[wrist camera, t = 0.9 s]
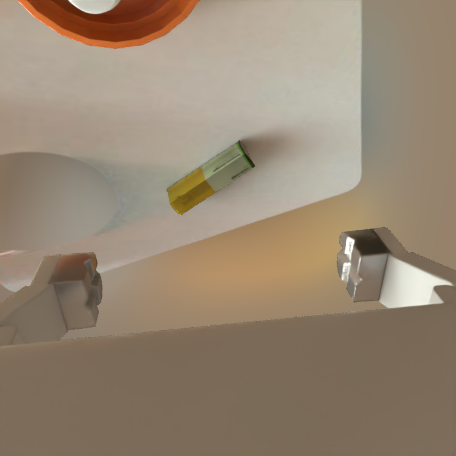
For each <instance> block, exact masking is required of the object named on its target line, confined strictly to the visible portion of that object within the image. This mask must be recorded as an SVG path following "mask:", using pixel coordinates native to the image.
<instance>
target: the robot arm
mask: <svg viewBox="0 0 456 456" xmlns="http://www.w3.org/2000/svg"><path fill="white" fill-rule="evenodd" d="M339 243H340V245H341V247H342V249H341V251H340V252H339V253H338V255H337V268H338V273H339V276H340V278H341V280H342V281H344V282H346V283H347V291H348V293H349V294H350V296H351V298H352V300H353V302H361V301H377V300H379V302H381V303H382V304H383V305H385V306H386V307H388V308H387V309H376V310H365V311H355V312H345V313H334V314H324V315H314V316H304V317H294V318H284V319H273V320H264V321H253V322H243V323H233V324H222V325H211V326H202V327H191V328H181V329H170V330H161V331H150V332H141V333H130V334H120V335H109V336H99V337H88V338H78V339H68V340H60V339H61V338H62V337H63V336H64V335H65V334H66V333H67V332H68V331H67V330H73V329H82V328H90V327H95V326H96V321H97V317H98V307H97V305H99V304H100V303H101V299H102V281H101V276H100V274H99V273H98V272H97V271H96V267H97V259H96V255H95V254H94V252H87V253H72V254H56V255H46V256H44V257H43V259H42V261H41V264H40V266H39V268H38V270H37V272H36V274H35V276H34V278H33V280H32V283H31V285H30V286H25V287H23V288H22V289H20V290H19V291H17V292H16V293H14V294H13V295H11V296H10V297H8V298H7V299H5V300H4V301H2V302H1V303H0V456H456V270H453V269H451V268H449V267H446V266H444V265H442V264H439V263H437V262H435V261H432V260H430V259H427V258H425V257H423V256H420V255H418V254H416V253H413V252H411V253H408V251H406V249H405V248H404V247H403V246H402V244H401V243H400V242H399V241H398V240H397V239H396V237H395V236H394V235H393V234H392V233H391V231H390V230H389V229H388V228H386V227H382V228H374V229H366V230H356V231H347V232H342V233H341V235H340V240H339Z"/></svg>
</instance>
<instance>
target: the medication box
mask: <svg viewBox="0 0 456 456" xmlns="http://www.w3.org/2000/svg"><path fill="white" fill-rule="evenodd" d="M254 167H255V164H254V163H253V161H252V159H251V157H250V155H249V153H248V151H247V149H246V147H245V146H244V145H243V143H242V142H241V141H238V142H237V143H236V144H234V145H233V146H231V147H230V148H228V149H227V150H225V151H224V152H222V153H221V154H219V155H218V156H216V157H215V158H213V159H212V160H210V161H209V162H207V163H206V164H204V165H203V166H201V167H200V168H198V169H197V170H195V171H194V172H192V173H191V174H189V175H188V176H186V177H185V178H183V179H182V180H180V181H179V182H177V183H176V184H174V185H173V186H171V187H170V188H168V189H167V192H168V195H169V201H170V202H169V204H170V205H171V206H172V208H173V209H174V210H175V211H176V212H177V213H178V214H179V215H182V214H184V213H185V212H187V211H188V210H190V209H191V208H193V207H194V206H196V205H197V204H199V203H200V202H202V201H203V200H205V199H206V198H208V197H209V196H211V195H213V194H214V193H216V192H217V191H219V190H220V189H222V188H223V187H225V186H226V185H228V184H229V183H231V182H232V181H234V180H235V179H237V178H238V177H240V176H241V175H243V174H245V173H246V172H248V171H249V170H251V169H252V168H254Z"/></svg>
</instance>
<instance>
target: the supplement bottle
mask: <svg viewBox="0 0 456 456" xmlns="http://www.w3.org/2000/svg"><path fill="white" fill-rule="evenodd" d="M69 1H70V2H71V3H72V4H73V5H74V6H76V7H77V8H79V9H80V10H82V11H84V12H87V13H91V14H99V13H104V12H107V11H109V10H111V9H113V8H114V7H115V6H116V5H117V4H118V3H119V2H120V0H69Z"/></svg>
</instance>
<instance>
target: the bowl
mask: <svg viewBox="0 0 456 456" xmlns="http://www.w3.org/2000/svg"><path fill="white" fill-rule="evenodd" d="M18 1H19V2H20V3H21V4H22V5H23V6H24V7H25V8H26V9H27V10H28V11H29V13H30V14H31V15H32V16H34V17H35V18H37V19H38V20H39V21H41V22H42V23H44V24H45V25H47V26H48V27H50V28H51V29H53V30H54V31H56V32H57V33H59V34H61V35H63V36H66V37H68V38H71V39H73V40H76V41H79V42H81V43H84V44H86V45H90V46H98V47H106V48H114V49H117V48H124V47H132V46H139V45H143V44H146V43H148V42H150V41H152V40H155V39H157V38H159V37H162V36H164V35H165V34H167V33H169V32H170V31H171V30H172V29H173V28H175V27H176V26H177V25H178V24H180V23H181V22H182V21H183V20H185V19H186V18H187V17H188V15H189V14H190V12H191V11H192V10H193V8H194V7H195V6H196V4H197V3H198V1H199V0H120V2H119V3H118V4H117V5H116V6H115V7H114V8H113V9H111V10H109V11H107V12H104V13H99V14H91V13H87V12H84V11H82V10H80V9H79V8H77V7H76V6H74V5H73V4H72V3H71V2H70V1H69V0H18Z"/></svg>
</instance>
